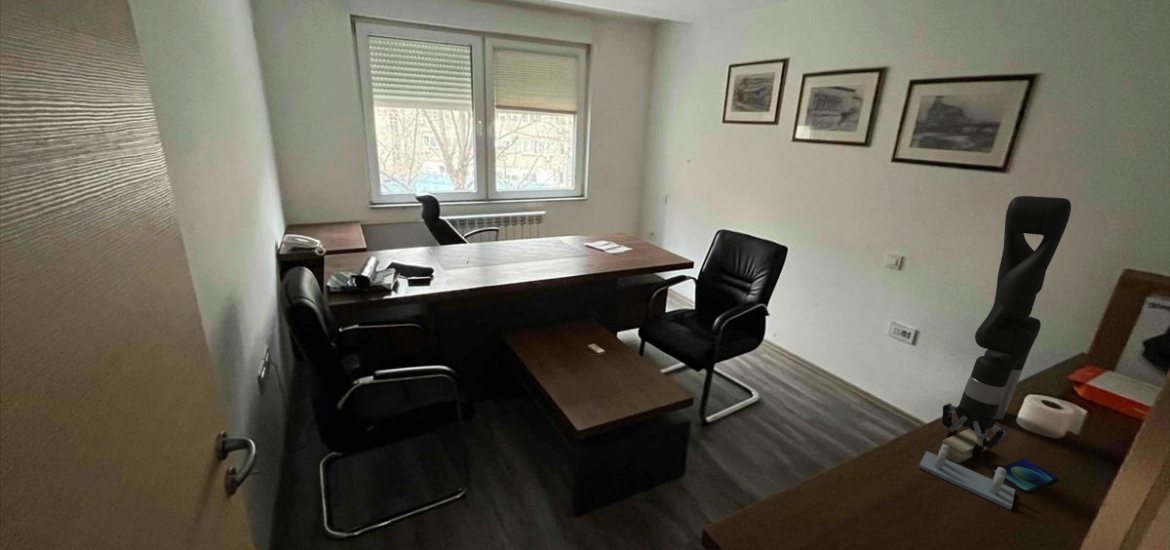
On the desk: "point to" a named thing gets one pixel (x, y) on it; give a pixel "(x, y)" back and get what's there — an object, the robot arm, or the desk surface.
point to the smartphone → (1026, 475)
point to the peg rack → (969, 478)
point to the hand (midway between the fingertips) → (962, 448)
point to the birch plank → (961, 445)
